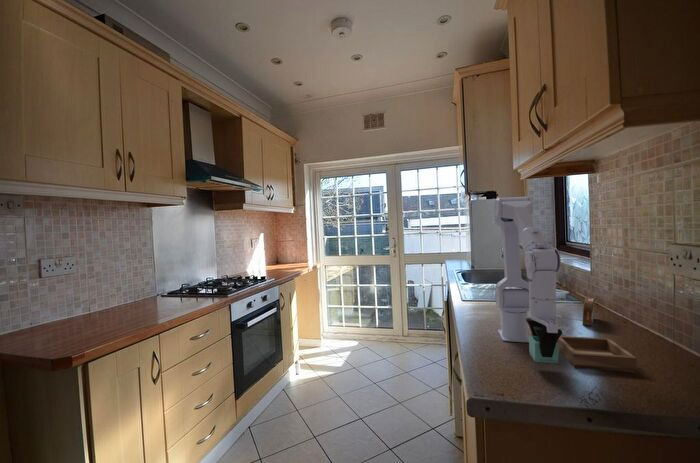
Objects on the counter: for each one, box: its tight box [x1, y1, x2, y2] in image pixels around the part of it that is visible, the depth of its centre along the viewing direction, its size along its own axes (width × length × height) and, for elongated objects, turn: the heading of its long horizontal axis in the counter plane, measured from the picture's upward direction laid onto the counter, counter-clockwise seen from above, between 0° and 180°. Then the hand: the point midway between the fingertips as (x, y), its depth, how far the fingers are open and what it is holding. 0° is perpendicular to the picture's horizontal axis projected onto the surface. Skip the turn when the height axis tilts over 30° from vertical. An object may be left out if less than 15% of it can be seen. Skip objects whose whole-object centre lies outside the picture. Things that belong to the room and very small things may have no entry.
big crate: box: [557, 335, 638, 374], centre depth 85 cm, size 13×13×4 cm
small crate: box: [528, 335, 559, 364], centre depth 80 cm, size 5×5×4 cm
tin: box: [582, 296, 596, 327], centre depth 114 cm, size 15×3×8 cm, turn 141°
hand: (543, 351), depth 80 cm, fingers closed on small crate, 5 cm apart
